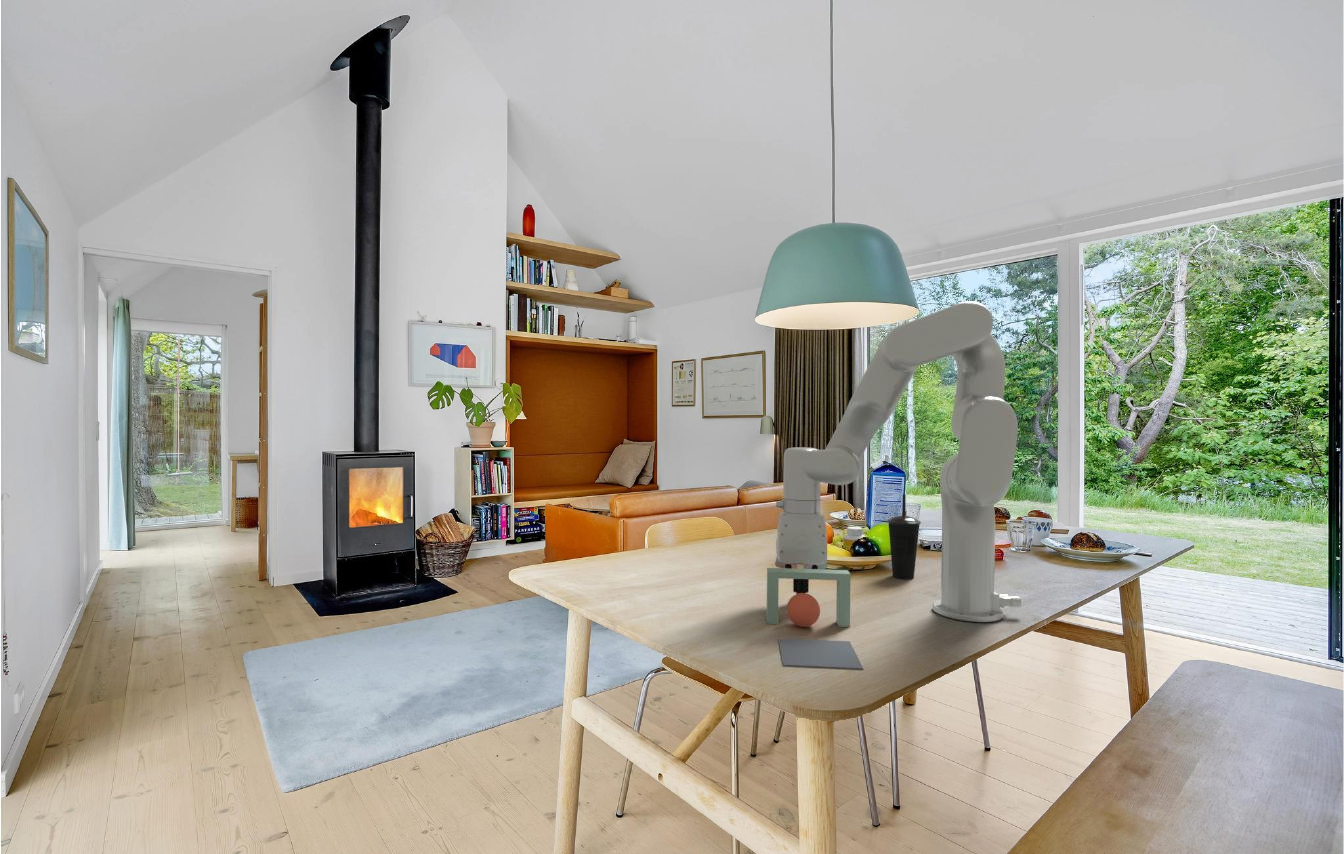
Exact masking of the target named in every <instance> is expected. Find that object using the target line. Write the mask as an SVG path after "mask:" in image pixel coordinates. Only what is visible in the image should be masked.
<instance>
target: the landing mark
mask: <svg viewBox="0 0 1344 854" xmlns="http://www.w3.org/2000/svg"><path fill="white" fill-rule="evenodd" d="M777 640H778V646H779V650H780V654H781V655H780V657H781V660H782V661H781V662H782V666H783V667H798V668H799V667H800V668H818V669H819V668H824V669H839V670H840V669H841V670H843V669H844V670H861V671H863V670H864V667H863V665H862V663H861V661H860V659H859V657H858V655H857V652H856V651H855V649H854V647H853V645H852V643H851V641H850V640H830V639H827V640H825V639H806V638H805V639H803V638H802V639H801V638H779V637H778V639H777Z"/></svg>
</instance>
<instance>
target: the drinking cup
mask: <svg viewBox="0 0 1344 854" xmlns="http://www.w3.org/2000/svg"><path fill="white" fill-rule="evenodd" d="M906 500H907V499H906V494H904V493H902V514H901V515H896V516H893V517H891V518H889V519H887V521H886V522H887V523H888V532H889V533H888V534H889V536H888V537H889V545H890V559H891V571H892V577H893V578H895V579H899V580H913V579H914V578H915V572H916V571H915V570H916V569H915V567H916V561H917V560H916V559H917V550H918V543H919V542H918V541H919V534H920V533H919V532H920V525H921V523H922V522H921V521H920V520H918V519H917V518H914V517H912V516H910V515H906V508H907V507H906Z"/></svg>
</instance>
